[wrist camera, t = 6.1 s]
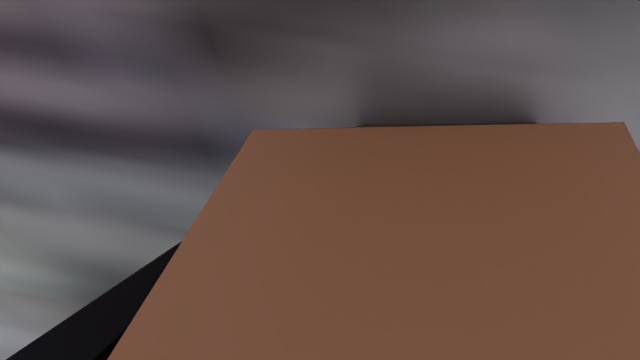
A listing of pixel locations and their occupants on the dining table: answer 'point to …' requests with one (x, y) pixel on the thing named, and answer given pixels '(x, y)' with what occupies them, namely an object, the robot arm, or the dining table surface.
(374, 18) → the dining table surface
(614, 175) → the domino
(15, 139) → the dining table surface
